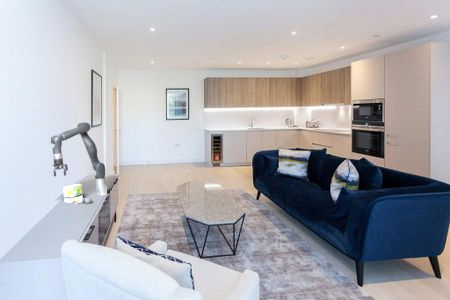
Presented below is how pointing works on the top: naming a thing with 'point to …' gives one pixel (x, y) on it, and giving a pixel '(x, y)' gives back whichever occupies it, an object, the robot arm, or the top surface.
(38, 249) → the top surface
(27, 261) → the top surface
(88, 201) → the grey rounded-end block
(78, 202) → the plate
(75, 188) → the tea box
